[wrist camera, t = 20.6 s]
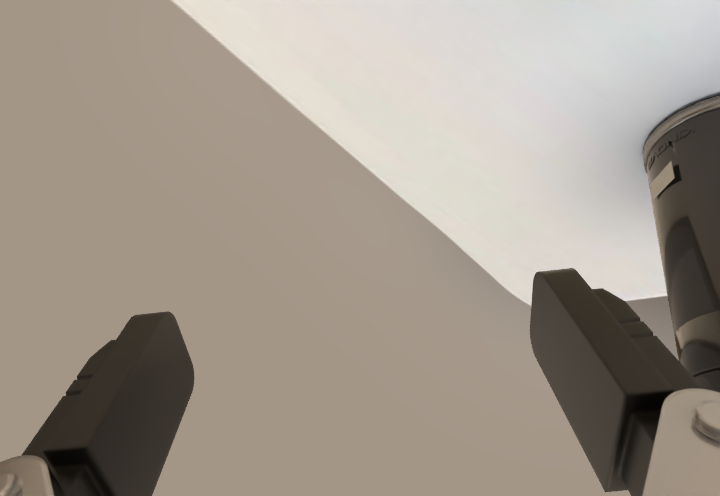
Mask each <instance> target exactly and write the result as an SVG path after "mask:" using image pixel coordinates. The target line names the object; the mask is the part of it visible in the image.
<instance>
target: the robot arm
mask: <svg viewBox="0 0 720 496" xmlns="http://www.w3.org/2000/svg"><path fill="white" fill-rule="evenodd" d="M643 160H644V166H645V170H646V173H647V175H648V180H649V186H650V192H651V200H652V206H653V212H654V218H655V224H656V230H657V235H658V241H659V247H660V253H661V259H662V265H663V271H664V277H665V283H666V289H667V295H668V301H669V307H670V312H671V318H672V324H673V330H674V336H675V341H676V347H677V353H678V359H679V361H678V360H677V359H676V358H675V356H674V355H673V354H672V353H671V352H670V351H669V350H668V349H667V348H666V347H665V346H664V344H663V343H662V342H661V341H660V340H659V339H658V338H657V336H653V332H652V331H651V330H650V329H649V328H648V326H647V325H646V324H645V323H644V322H641V321H640V318H639V316H638V315H637V314H636V313H635V312H634V311H633V310H632V309H631V308H630V307H629V305H628V304H627V303H626V302H625V301H623V300H622V299H620V298H618V297H616V296H615V295H613V294H611V293H609V292H608V291H606V290H604V289H603V288H602V289H591V288H590V286H589V285H588V284H587V283H586V282H585V280H584V279H583V278H582V277H581V276H580V274H579V273H578V272H577V271H576V270H575V269H573V268H570V269H560V270H551V271H542V272H537V273H536V274H535V276H534V280H533V293H532V308H531V321H530V338H531V344H532V348H533V351H534V354H535V357H536V359H537V361H538V363H539V365H540V367H541V368H542V371H543V373H544V374H545V376H546V378H547V380H548V382H549V384H550V386H551V388H552V390H553V392H554V394H555V396H556V397H557V400H558V402H559V404H560V405H561V407H562V409H563V411H564V413H565V415H566V417H567V419H568V421H569V423H570V425H571V427H572V429H573V430H574V433H575V434H576V436H577V438H578V440H579V442H580V444H581V446H582V448H583V450H584V452H585V454H586V456H587V458H588V460H589V462H590V463H591V465H592V467H593V469H594V471H595V473H596V475H597V477H598V479H599V481H600V483H601V485H602V487H603V489H604V491H605V492H611V491H622V490H629V492H630V494H631V496H720V95H719V96H715V97H712V98H709V99H706V100H703V101H701V102H698V103H696V104H693V105H691V106H689V107H687V108H685V109H683V110H681V111H679V112H678V113H676V114H674V115H673V116H671V117H670V118H668V119H667V120H666V121H664V122H663V123H662V124H661V125H659V126H658V127H657V128H656V129H655V130H654V131H653V133H652V134H651V135H650V137H649V138H648V140H647V141H646V143H645V146H644V149H643ZM193 386H194V369H193V364H192V361H191V359H190V356H189V353H188V351H187V348H186V345H185V343H184V340H183V337H182V334H181V332H180V329H179V326H178V324H177V321H176V319H175V317H174V315H173V314H172V313H171V312H159V313H150V314H142V315H135V316H133V317H131V319H130V320H129V321H128V323H127V324H126V326H125V328H124V329H123V330H122V332H121V334H120V335H119V336H118V338H117V339H116V340H111V341H110V342H108V343H107V344H106V345H105V346H104V347H102V348H101V349H100V350H99V351H98V352H97V353H95V354H94V355H93V356H92V357H91V358H90V359H89V360H88V362H87V363H86V364H85V366H84V367H83V369H82V370H81V372H80V373H79V374H78V376H77V380H74V381H73V383H72V384H71V386H70V387H69V389H68V390H67V392H66V396H63V397H62V399H61V400H60V401H59V403H58V404H57V406H56V407H55V408H54V410H53V411H52V413H51V414H50V416H49V417H48V419H47V420H46V421H45V423H44V424H43V426H42V427H41V428H40V430H39V431H38V433H37V434H36V435H35V437H34V438H33V440H32V441H31V443H30V444H29V446H28V447H27V448H26V450H25V451H24V453H23V454H22V456H18V457H13V458H10V459H7V460H5V461H2V462H0V496H152V494H153V492H154V489H155V487H156V484H157V481H158V479H159V476H160V474H161V471H162V468H163V465H164V463H165V461H166V458H167V456H168V453H169V450H170V448H171V445H172V443H173V440H174V438H175V435H176V432H177V430H178V427H179V425H180V422H181V420H182V417H183V414H184V412H185V409H186V407H187V404H188V401H189V399H190V396H191V394H192V391H193Z"/></svg>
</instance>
